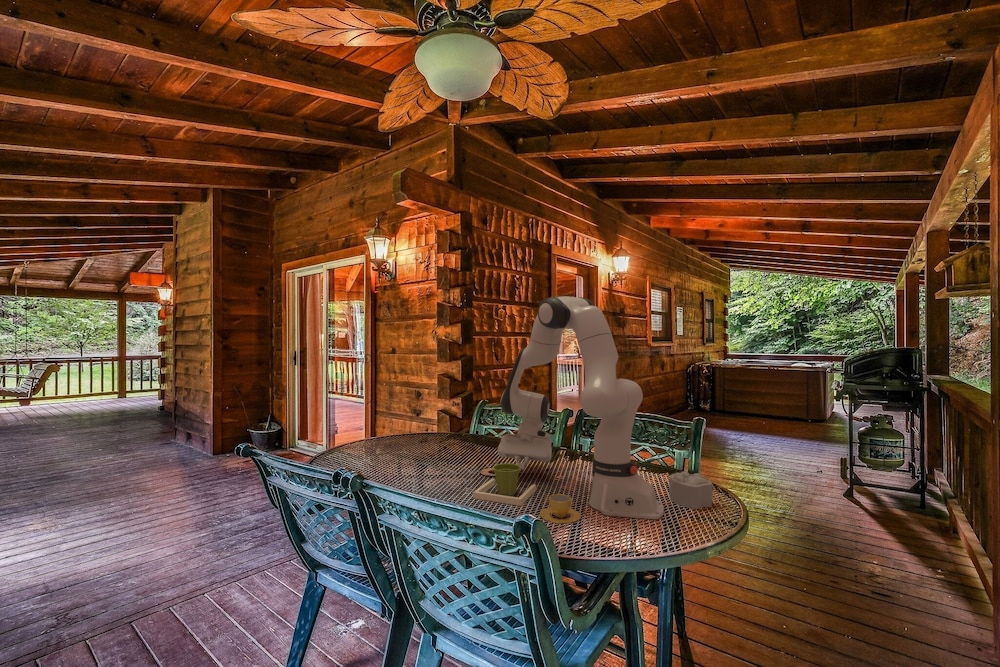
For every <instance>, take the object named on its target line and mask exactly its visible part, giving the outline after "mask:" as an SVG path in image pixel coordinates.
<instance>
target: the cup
mask: <svg viewBox="0 0 1000 667" xmlns="http://www.w3.org/2000/svg"><path fill="white" fill-rule="evenodd" d="M548 500H549V507H547V508H543V509H542V510H540V512H539V516H540V517H541V518H542V519H544V520H545V521H547V522H551V523H556V524H569V523H570V524H571V523H575V522H577V521H579V520H580V519H581V517H582V514H581V513H580V512H579V511H577V510H575V509H573V508H571V504H572V497H571V496H569V495H567V494H561V493H558V494H557V493H556V494H551V495H549V498H548ZM551 514H553V516H555V517H557V518H554V517H552V516H551ZM568 514H569V516H570V517H569V518H565V517H566V516H567V515H568ZM560 518H563V519H560Z"/></svg>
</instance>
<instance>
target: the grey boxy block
mask: <svg viewBox="0 0 1000 667" xmlns="http://www.w3.org/2000/svg"><path fill="white" fill-rule="evenodd" d="M668 478H669V481H668V482H669V484H668V488H669V489H668V490H669V492H668V494H669V497H668V498H670V499H669V500H670V502H672V503H673V502H674V504H675V503H676V504H675V505H677V504H678V506H680V505H681V506H680V507H682V506H684V507H683V508H685V507H687V508H686V509H688V508H690V509H689V510H692V509H700V510H702V509H701V508H703V507H709V506H712V507H713V483H712V481H710V480H708V479H706V478H704V477H703V475H702V474H700V473H693V474H692V473H691V474H690V473H689V472H688V471H685V470H684V471H681V472H675V473H671V474H670V475H669V477H668ZM703 509H704V508H703Z"/></svg>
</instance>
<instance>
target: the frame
mask: <svg viewBox="0 0 1000 667" xmlns="http://www.w3.org/2000/svg"><path fill="white" fill-rule="evenodd" d="M495 485H496V478H490V479H489V480H488V481H486V482H485V483H483V485H481V486H480V487H478V488H477V489H475V491H472V499H476V500H480V501H485V502H487V501H488V502H492V503H493V502H494V503H498V504H506V505H512V506H520V507H521V506H522V505H524V504H525V502H526V501H527V500H528V499H529V498H530V497H532V496H533V494H534V493H535V492H537V484H532V485H530V486H529V487H528V488H527V489H526V490H525V491H524V492H523V493H522V494H521V495H520V496H519V497H515V496H511V495H510V496H506V495H500V494H498V493H497V494H496V493H489V492H487V491H489V490H490V489H491V488H493V487H494V486H495Z"/></svg>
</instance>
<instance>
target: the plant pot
mask: <svg viewBox="0 0 1000 667" xmlns="http://www.w3.org/2000/svg"><path fill="white" fill-rule="evenodd" d="M492 469H493V472H494V474H495V484H496V490H497V495H504V496H510V497H511V496H515V494H516V493H517V486H518V480H519V474H520V471H521V467H520V466H519V465H516V463H515V464H514V463H497V464H494V465H493V466H492Z"/></svg>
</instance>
